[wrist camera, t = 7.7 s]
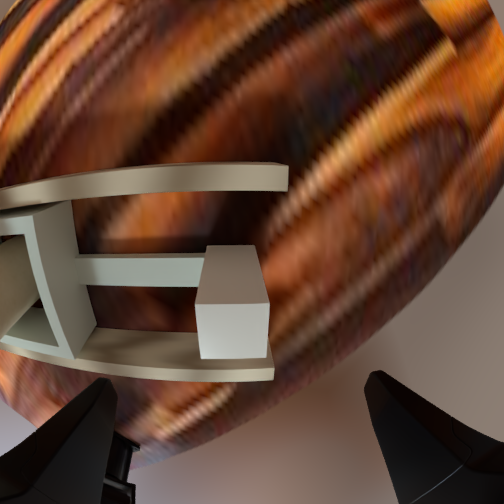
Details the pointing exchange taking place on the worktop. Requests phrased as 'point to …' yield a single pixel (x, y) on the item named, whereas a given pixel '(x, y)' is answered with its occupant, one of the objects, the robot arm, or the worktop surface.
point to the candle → (15, 282)
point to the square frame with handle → (133, 274)
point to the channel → (150, 342)
